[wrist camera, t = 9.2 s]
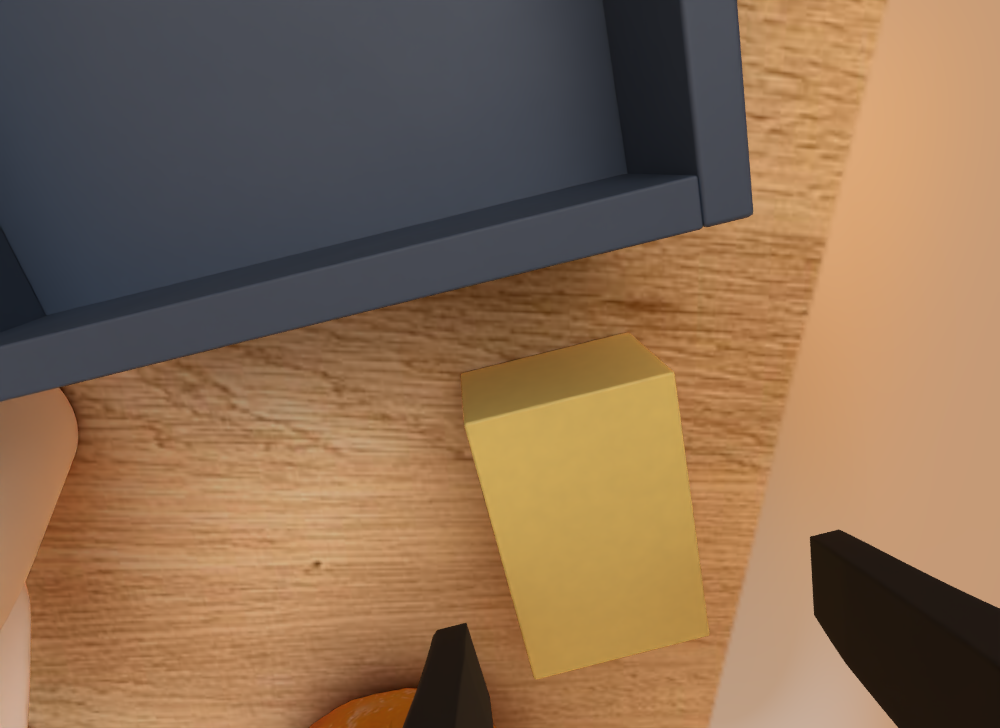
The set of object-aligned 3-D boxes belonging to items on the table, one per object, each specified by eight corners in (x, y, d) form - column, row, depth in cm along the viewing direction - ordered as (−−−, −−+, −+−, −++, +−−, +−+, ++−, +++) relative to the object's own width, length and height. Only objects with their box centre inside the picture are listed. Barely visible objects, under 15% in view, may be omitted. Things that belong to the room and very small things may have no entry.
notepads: (629, 331, 16) (675, 370, 13) (665, 555, 19) (710, 636, 16) (459, 373, 16) (463, 424, 13) (519, 592, 19) (534, 681, 16)
